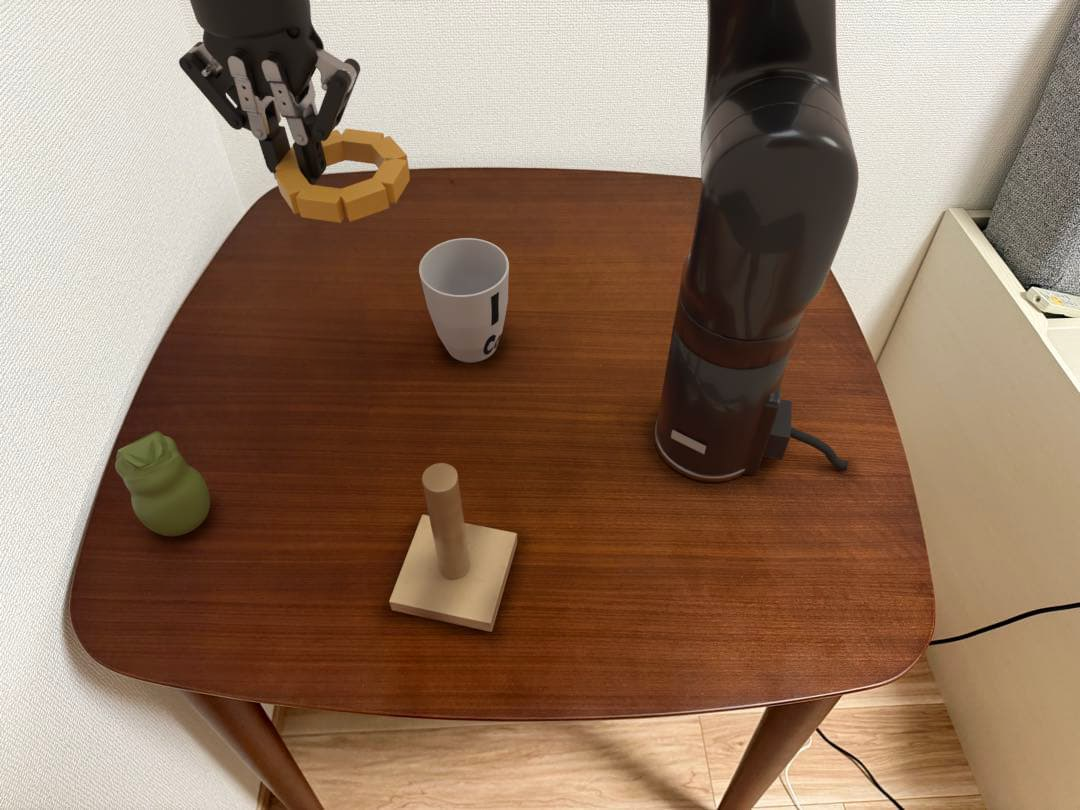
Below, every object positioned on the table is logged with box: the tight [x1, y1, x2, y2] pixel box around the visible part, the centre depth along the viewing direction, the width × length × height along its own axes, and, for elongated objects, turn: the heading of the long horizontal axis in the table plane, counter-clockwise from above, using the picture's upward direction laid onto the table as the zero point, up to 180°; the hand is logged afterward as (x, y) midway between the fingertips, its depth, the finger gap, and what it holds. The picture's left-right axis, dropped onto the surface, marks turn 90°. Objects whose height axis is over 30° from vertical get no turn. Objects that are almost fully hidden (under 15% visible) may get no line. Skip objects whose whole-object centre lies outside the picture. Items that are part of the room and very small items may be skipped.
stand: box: [388, 462, 518, 633], centre depth 60 cm, size 8×8×14 cm
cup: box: [418, 237, 510, 363], centre depth 78 cm, size 8×8×10 cm
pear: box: [114, 430, 211, 537], centre depth 65 cm, size 6×5×10 cm
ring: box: [274, 128, 411, 224], centre depth 64 cm, size 10×10×2 cm
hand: (300, 176), depth 65 cm, fingers closed on ring, 2 cm apart
